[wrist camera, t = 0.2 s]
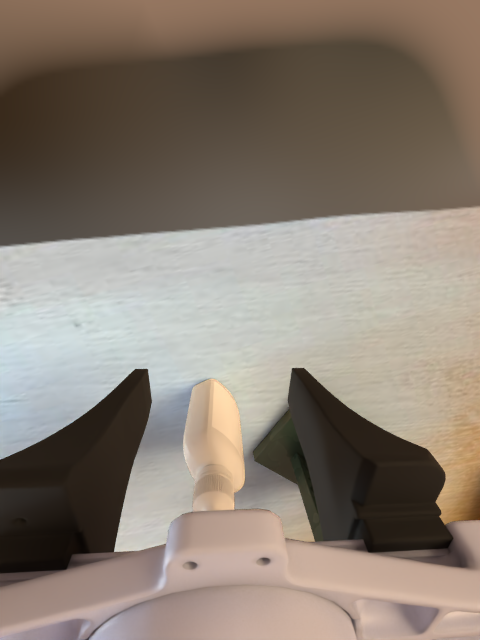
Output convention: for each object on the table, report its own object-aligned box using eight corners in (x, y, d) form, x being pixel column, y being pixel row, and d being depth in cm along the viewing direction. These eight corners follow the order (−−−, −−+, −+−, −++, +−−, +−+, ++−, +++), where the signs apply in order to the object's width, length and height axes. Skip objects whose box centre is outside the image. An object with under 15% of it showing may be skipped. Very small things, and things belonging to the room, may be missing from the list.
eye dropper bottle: (241, 376, 26) (256, 488, 15) (239, 429, 28) (251, 567, 16) (192, 376, 26) (169, 489, 14) (193, 429, 27) (172, 570, 16)
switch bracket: (386, 433, 29) (459, 522, 20) (328, 494, 31) (372, 600, 22) (310, 383, 27) (354, 458, 18) (252, 451, 29) (266, 550, 20)
